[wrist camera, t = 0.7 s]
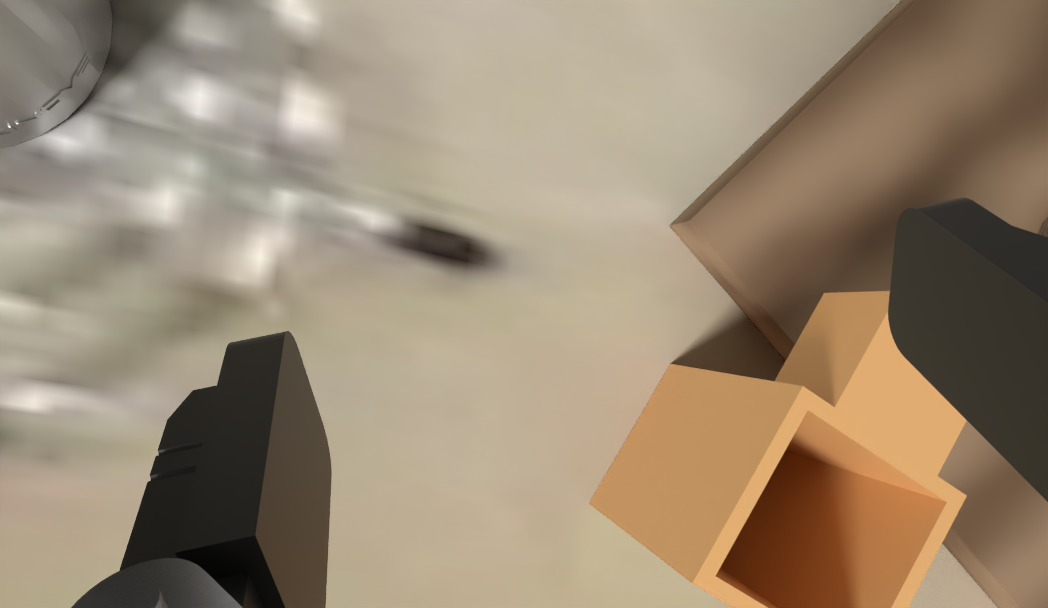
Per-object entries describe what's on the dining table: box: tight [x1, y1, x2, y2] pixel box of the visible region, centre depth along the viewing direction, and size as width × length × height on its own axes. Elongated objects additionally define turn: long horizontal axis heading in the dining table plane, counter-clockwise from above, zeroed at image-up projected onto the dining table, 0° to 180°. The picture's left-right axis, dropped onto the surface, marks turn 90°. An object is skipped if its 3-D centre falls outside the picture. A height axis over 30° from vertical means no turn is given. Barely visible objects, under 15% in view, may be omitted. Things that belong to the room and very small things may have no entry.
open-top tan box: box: [589, 291, 967, 608], centre depth 30 cm, size 10×6×10 cm, turn 148°
